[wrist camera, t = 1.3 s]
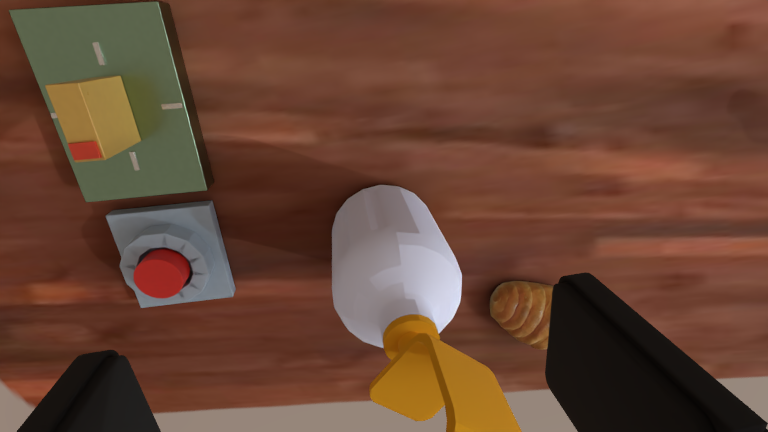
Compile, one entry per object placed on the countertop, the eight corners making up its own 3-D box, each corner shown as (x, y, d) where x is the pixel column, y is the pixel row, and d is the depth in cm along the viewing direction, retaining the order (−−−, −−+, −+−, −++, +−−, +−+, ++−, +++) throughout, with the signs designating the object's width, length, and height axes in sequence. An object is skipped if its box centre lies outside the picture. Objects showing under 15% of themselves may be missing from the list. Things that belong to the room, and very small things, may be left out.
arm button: (136, 251, 31) (126, 262, 30) (183, 245, 32) (175, 256, 30) (150, 288, 33) (141, 301, 31) (195, 283, 33) (188, 295, 32)
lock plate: (29, 11, 26) (5, 9, 25) (169, 3, 27) (156, 0, 25) (99, 193, 32) (84, 203, 30) (214, 182, 33) (207, 191, 31)
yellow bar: (92, 77, 27) (41, 85, 22) (120, 75, 27) (75, 82, 22) (115, 143, 29) (72, 164, 24) (141, 140, 29) (104, 161, 24)
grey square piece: (112, 209, 32) (92, 225, 30) (212, 199, 33) (202, 214, 30) (146, 300, 36) (131, 321, 33) (235, 289, 37) (228, 309, 34)
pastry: (471, 315, 41) (484, 340, 38) (506, 263, 39) (523, 284, 36) (542, 340, 44) (560, 365, 41) (577, 292, 42) (600, 314, 38)
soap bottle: (312, 242, 36) (280, 576, 14) (372, 162, 34) (453, 408, 11) (390, 287, 39) (468, 622, 17) (450, 217, 36) (636, 497, 14)
